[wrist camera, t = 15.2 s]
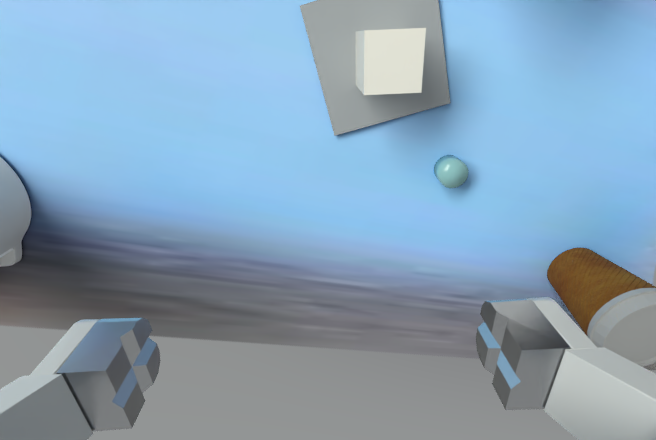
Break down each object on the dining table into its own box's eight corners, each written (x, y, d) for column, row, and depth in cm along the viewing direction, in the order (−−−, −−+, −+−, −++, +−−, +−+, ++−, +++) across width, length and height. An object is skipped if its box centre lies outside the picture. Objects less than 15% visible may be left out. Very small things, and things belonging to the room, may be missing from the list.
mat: (334, 134, 38) (334, 135, 37) (300, 6, 33) (299, 5, 32) (448, 102, 37) (450, 103, 36) (431, -36, 31) (433, -38, 31)
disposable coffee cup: (518, 280, 47) (577, 351, 36) (573, 223, 44) (657, 284, 33) (570, 307, 49) (640, 382, 39) (626, 255, 46) (720, 322, 35)
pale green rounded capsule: (442, 185, 41) (448, 193, 39) (428, 166, 40) (434, 172, 38) (465, 170, 40) (473, 176, 38) (452, 149, 39) (459, 155, 37)
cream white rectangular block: (355, 85, 35) (364, 95, 29) (355, 31, 33) (364, 30, 27) (402, 82, 35) (421, 92, 29) (405, 29, 33) (426, 27, 27)
